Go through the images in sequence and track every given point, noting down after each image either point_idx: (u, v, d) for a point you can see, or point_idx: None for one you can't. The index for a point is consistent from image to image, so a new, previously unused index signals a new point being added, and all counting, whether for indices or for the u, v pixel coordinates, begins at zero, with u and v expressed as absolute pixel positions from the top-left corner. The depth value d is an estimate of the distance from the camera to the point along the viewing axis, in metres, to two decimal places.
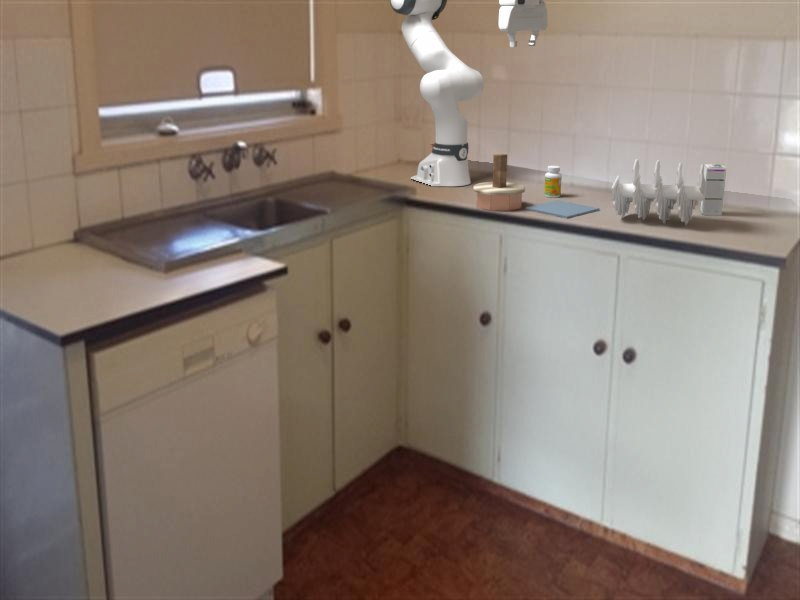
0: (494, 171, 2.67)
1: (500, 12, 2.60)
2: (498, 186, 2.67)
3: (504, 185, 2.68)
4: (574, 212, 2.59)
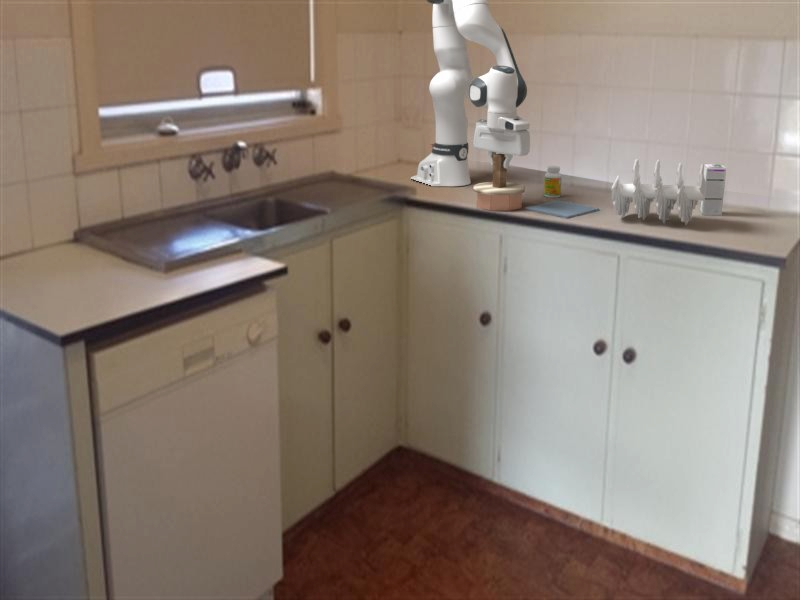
0: (494, 171, 2.67)
1: (521, 137, 2.56)
2: (498, 186, 2.67)
3: (504, 185, 2.68)
4: (574, 212, 2.59)
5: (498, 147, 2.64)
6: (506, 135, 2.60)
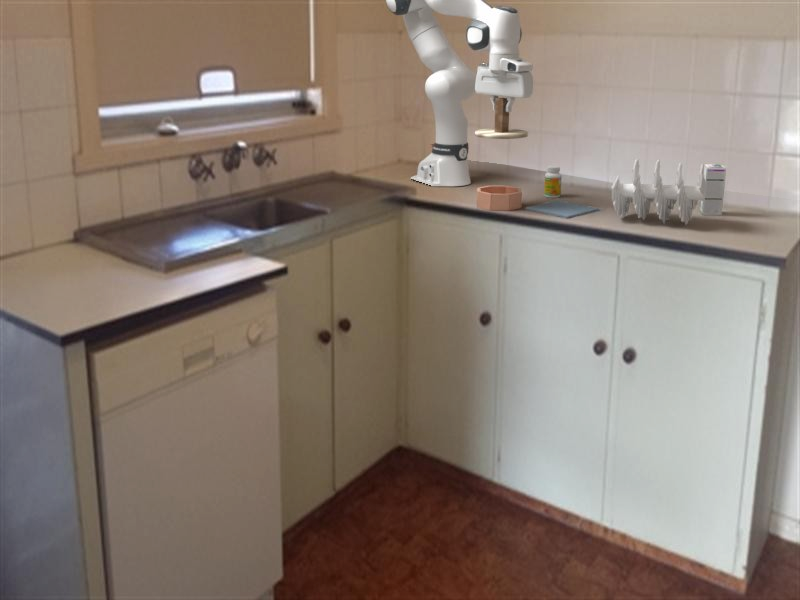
0: (497, 116, 2.62)
1: (524, 79, 2.51)
2: (500, 131, 2.62)
3: (506, 130, 2.63)
4: (574, 212, 2.59)
5: (500, 90, 2.58)
6: (508, 77, 2.55)
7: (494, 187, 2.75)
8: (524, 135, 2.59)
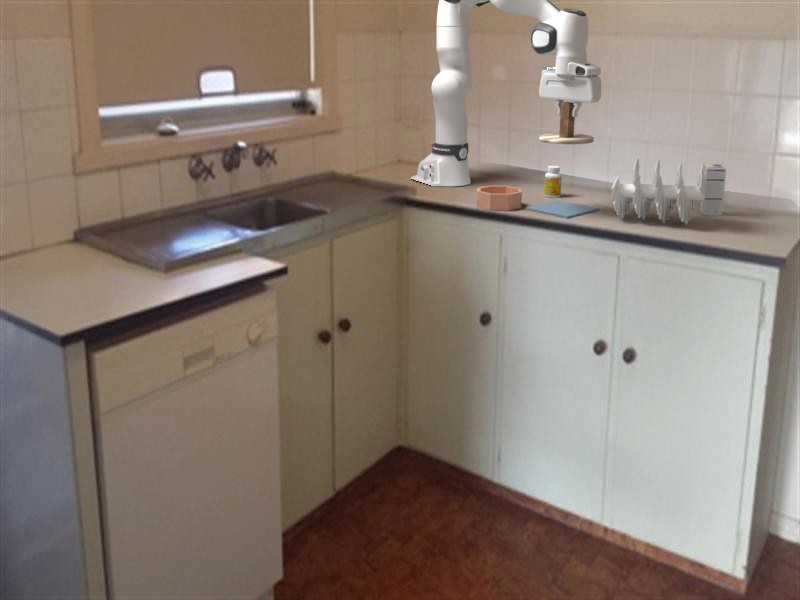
0: (562, 120, 2.56)
1: (593, 83, 2.46)
2: (566, 136, 2.57)
3: (572, 135, 2.58)
4: (574, 212, 2.59)
5: (567, 95, 2.53)
6: (576, 81, 2.50)
7: (494, 187, 2.75)
8: (591, 140, 2.54)
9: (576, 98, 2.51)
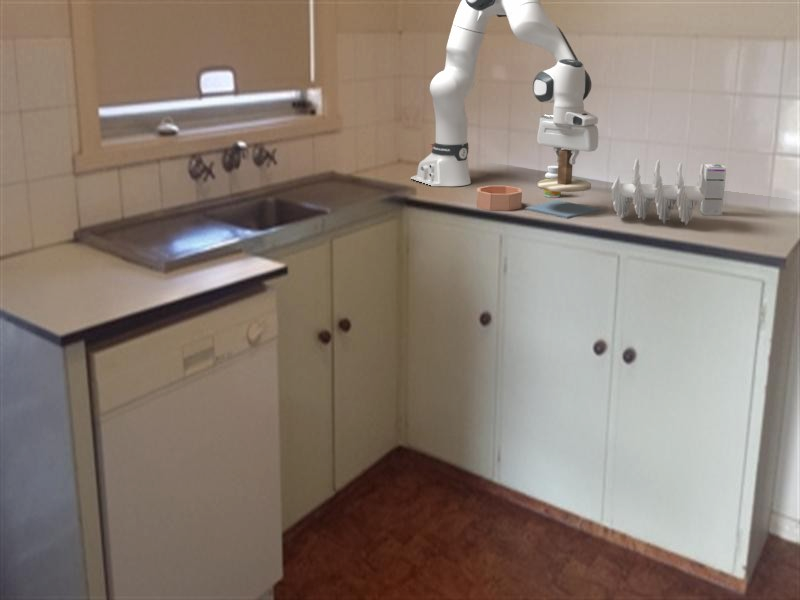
0: (560, 167, 2.61)
1: (590, 133, 2.50)
2: (564, 183, 2.61)
3: (569, 182, 2.62)
4: (574, 212, 2.59)
5: (564, 143, 2.57)
6: (573, 130, 2.54)
7: (494, 187, 2.75)
8: (588, 187, 2.59)
9: (574, 146, 2.55)
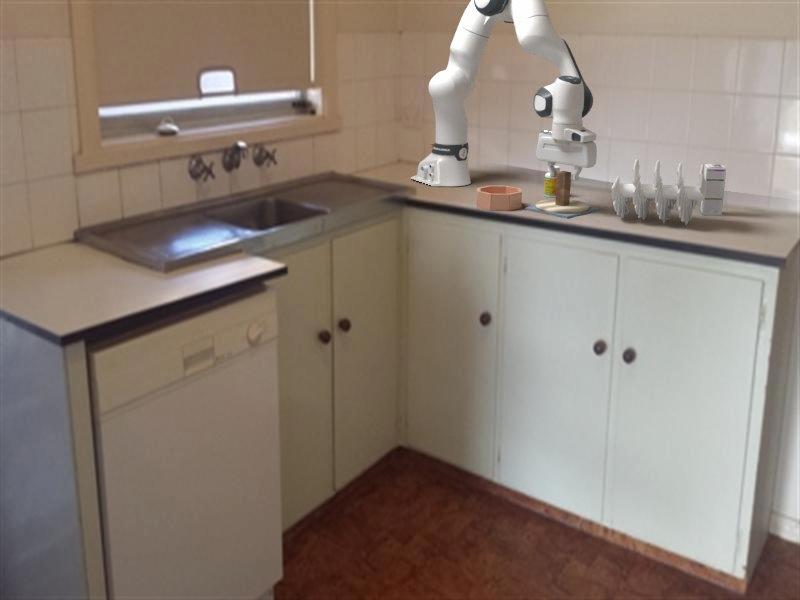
0: (558, 189, 2.63)
1: (589, 149, 2.52)
2: (561, 204, 2.63)
3: (567, 203, 2.64)
4: None
5: (563, 159, 2.59)
6: (572, 146, 2.55)
7: (494, 187, 2.75)
8: (586, 209, 2.61)
9: (572, 162, 2.57)
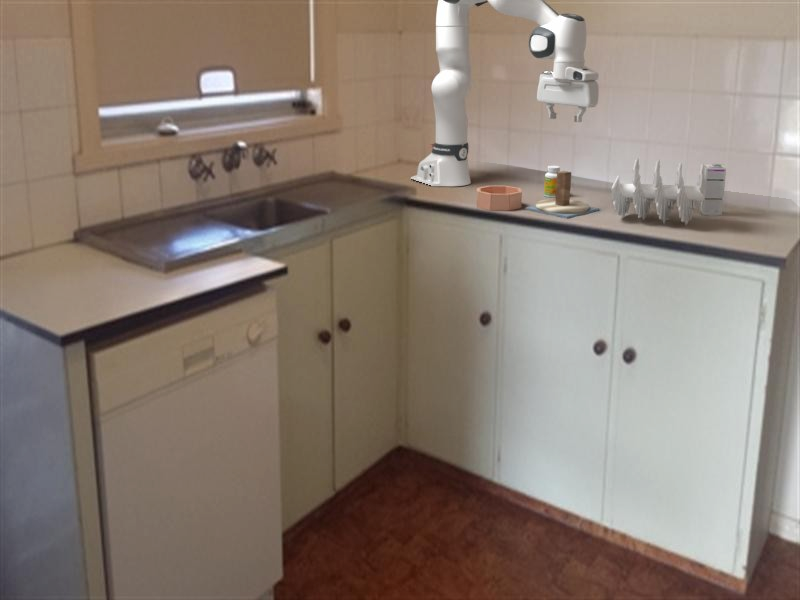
0: (558, 189, 2.63)
1: (590, 88, 2.47)
2: (561, 204, 2.63)
3: (567, 203, 2.64)
4: None
5: (564, 99, 2.54)
6: (573, 86, 2.51)
7: (494, 187, 2.75)
8: (586, 209, 2.61)
9: (573, 102, 2.52)
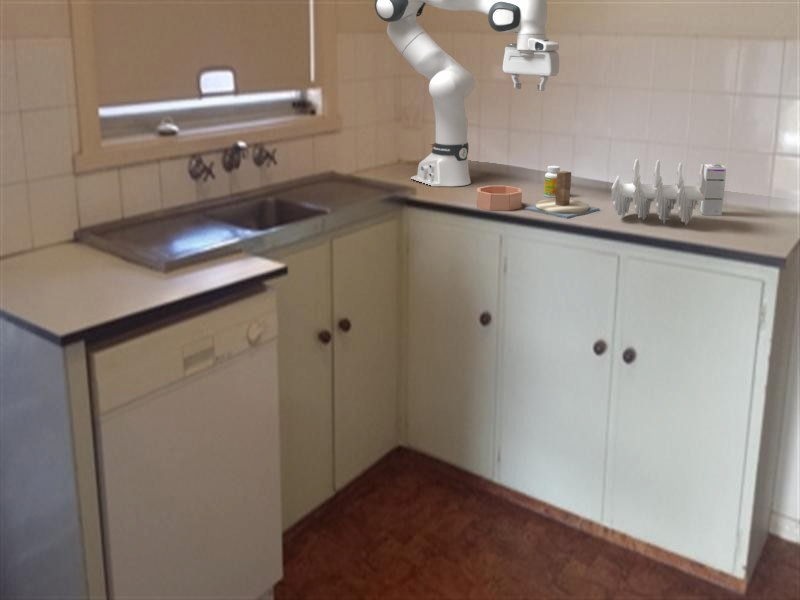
0: (558, 189, 2.63)
1: (551, 58, 2.63)
2: (561, 204, 2.63)
3: (567, 203, 2.64)
4: None
5: (528, 69, 2.70)
6: (536, 56, 2.67)
7: (494, 187, 2.75)
8: (586, 209, 2.61)
9: (536, 72, 2.68)
